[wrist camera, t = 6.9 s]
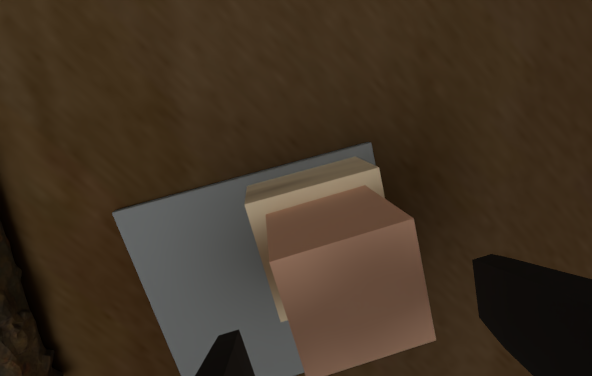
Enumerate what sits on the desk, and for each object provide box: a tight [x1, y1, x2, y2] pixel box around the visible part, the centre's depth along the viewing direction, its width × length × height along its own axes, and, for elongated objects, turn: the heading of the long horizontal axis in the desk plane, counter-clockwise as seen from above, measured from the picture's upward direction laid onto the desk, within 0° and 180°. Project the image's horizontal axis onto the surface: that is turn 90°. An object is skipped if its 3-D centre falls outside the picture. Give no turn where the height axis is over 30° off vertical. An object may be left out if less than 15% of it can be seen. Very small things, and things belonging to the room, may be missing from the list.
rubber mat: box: [112, 142, 376, 376], centre depth 19 cm, size 13×14×1 cm
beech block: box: [244, 157, 385, 322], centre depth 16 cm, size 6×6×4 cm
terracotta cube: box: [266, 185, 436, 376], centre depth 12 cm, size 4×4×4 cm
